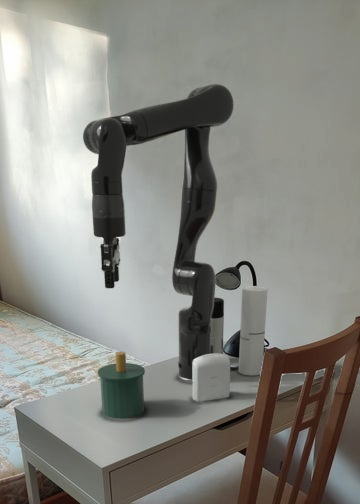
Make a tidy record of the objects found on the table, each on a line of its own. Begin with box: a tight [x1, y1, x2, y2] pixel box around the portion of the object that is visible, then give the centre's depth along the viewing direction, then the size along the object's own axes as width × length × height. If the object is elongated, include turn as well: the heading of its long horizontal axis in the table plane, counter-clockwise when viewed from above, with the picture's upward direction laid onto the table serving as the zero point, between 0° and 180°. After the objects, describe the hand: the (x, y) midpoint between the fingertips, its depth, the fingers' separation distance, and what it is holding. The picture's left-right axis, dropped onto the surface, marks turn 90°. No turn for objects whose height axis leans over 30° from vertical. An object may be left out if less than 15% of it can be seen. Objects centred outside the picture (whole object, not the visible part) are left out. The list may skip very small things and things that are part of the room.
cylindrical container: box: [238, 285, 268, 376], centre depth 156 cm, size 7×7×25 cm
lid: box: [97, 351, 146, 381], centre depth 129 cm, size 11×11×6 cm
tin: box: [99, 375, 145, 420], centre depth 132 cm, size 10×10×10 cm
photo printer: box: [191, 353, 231, 402], centre depth 139 cm, size 10×4×12 cm, turn 109°
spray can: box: [211, 297, 225, 354], centre depth 165 cm, size 7×7×20 cm
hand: (112, 284), depth 131 cm, fingers open, 8 cm apart
